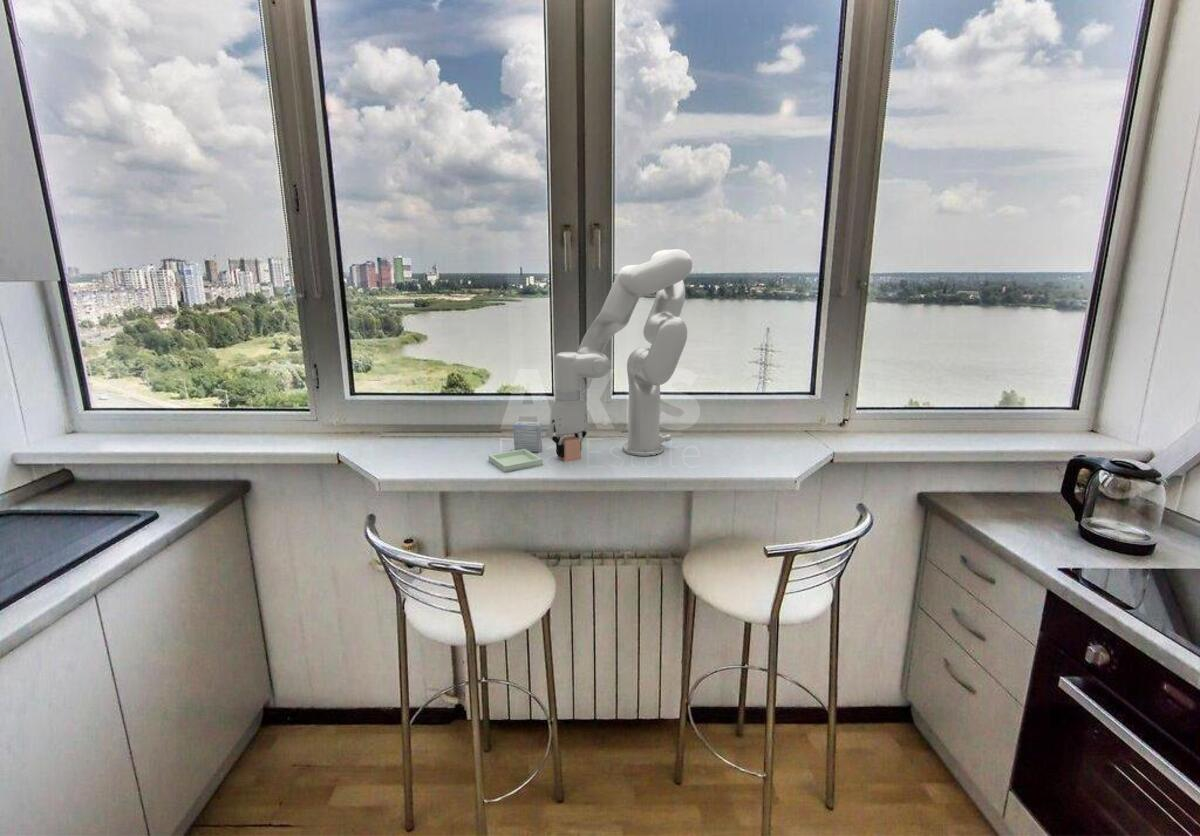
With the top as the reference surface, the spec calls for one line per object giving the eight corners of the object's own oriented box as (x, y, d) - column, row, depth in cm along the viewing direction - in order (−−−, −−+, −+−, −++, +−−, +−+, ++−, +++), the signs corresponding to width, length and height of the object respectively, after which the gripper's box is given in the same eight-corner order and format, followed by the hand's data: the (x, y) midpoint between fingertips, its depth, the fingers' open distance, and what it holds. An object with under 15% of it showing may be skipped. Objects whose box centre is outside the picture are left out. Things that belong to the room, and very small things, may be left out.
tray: (524, 454, 170) (524, 448, 170) (542, 465, 161) (542, 459, 160) (488, 461, 164) (488, 455, 163) (505, 472, 154) (504, 466, 154)
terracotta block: (572, 454, 171) (571, 435, 169) (580, 458, 166) (580, 439, 165) (557, 456, 168) (557, 437, 166) (565, 461, 164) (565, 441, 162)
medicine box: (542, 448, 176) (541, 421, 174) (539, 453, 172) (538, 425, 169) (517, 447, 177) (516, 421, 174) (514, 452, 172) (513, 424, 170)
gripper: (586, 389, 170) (586, 447, 175) (535, 396, 161) (537, 456, 166) (600, 394, 164) (599, 453, 168) (548, 401, 155) (549, 463, 159)
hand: (568, 454), depth 167 cm, fingers closed on terracotta block, 5 cm apart
